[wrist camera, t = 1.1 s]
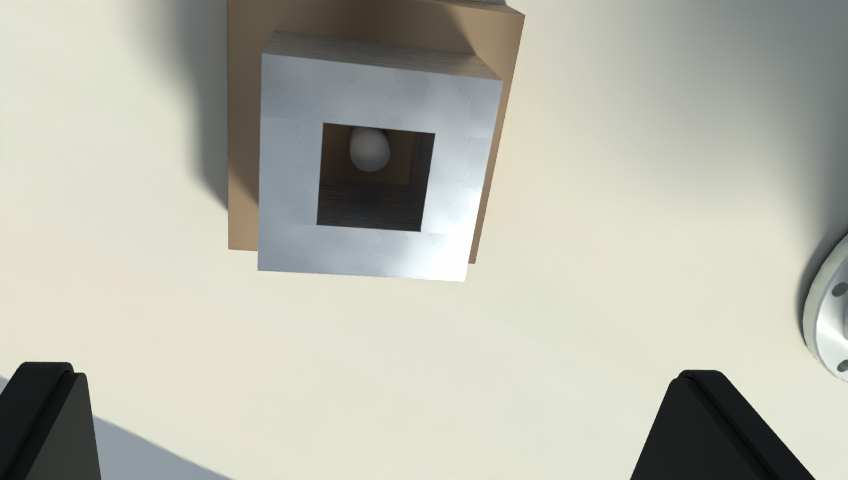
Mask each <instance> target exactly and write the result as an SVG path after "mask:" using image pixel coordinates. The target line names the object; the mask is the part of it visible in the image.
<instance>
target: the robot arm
mask: <svg viewBox="0 0 848 480" xmlns="http://www.w3.org/2000/svg"><path fill="white" fill-rule="evenodd" d="M803 331H804V338H805V341H806V343H807V346H808V348H809V351H810V352H811V354H812V355H813V356H814V357H815V359H816V360H817V361H818V362H819V363H820V364H821V365H822V366H823V367H824V368H825V369H826V370H827V371H829V372H830V373H831V374H832V375H833V376H835V377H837V378H839V379H841V380H843V381H845V382H847V383H848V234H847V235H846V236H845V237H844V238H843V239H842V240H841V241H840V242H839V243H838V244H837V246H836V247H835V248H834V250H833V251H832V252H831V254H830V255H829V256H828V258H827V259H826V260H825V262H824V263H823V264H822V266H821V268H820V270H819V272H818V274H817V275H816V277H815V279H814V281H813V283H812V285H811V288H810V291H809V294H808V297H807V300H806V302H805V308H804V315H803ZM0 480H101V474H100V467H99V460H98V453H97V446H96V440H95V432H94V425H93V418H92V411H91V403H90V396H89V389H88V382H87V377H86V375H85V373H74V370H73V367H72V365H71V363H68V362H24V363H22V364H21V365H20V366H19V367H18V369H17V370H16V372H15V373H14V375H13V376H12V378H11V379H10V381H9V382H8V384H7V385H6V387H5V388H4V390H3V392H2V393H1V395H0ZM630 480H815V478H814V477H813V476H812V475H811V474H810V473H809V472H808V470H807V469H806V468H805V467H804V466H803V465H802V464H801V462H800V461H799V460H798V459H797V458H796V457H795V456H794V454H793V453H792V452H791V451H790V450H789V449H788V447H787V446H786V445H785V444H784V443H783V442H782V441H781V439H780V438H779V437H778V436H777V435H776V434H775V433H774V431H773V430H772V429H771V428H770V427H769V426H768V424H767V423H766V422H765V421H764V420H763V419H762V418H761V416H760V415H759V414H758V413H757V412H756V411H755V410H754V408H753V407H752V406H751V405H750V404H749V403H748V401H747V400H746V399H745V398H744V397H743V396H742V395H741V393H740V392H739V391H738V390H737V389H736V388H735V387H734V385H733V384H732V383H731V382H730V381H729V380H728V379H727V377H726V376H725V375H724V374H722V373H721V372H719V371H717V370H684V371H682V372H681V373H680V374H679V376H678V377H677V378H675V379H673V380H672V381H671V383H670V384H669V387H668V389H667V391H666V394H665V396H664V399H663V401H662V403H661V406H660V408H659V411H658V413H657V416H656V418H655V420H654V423H653V425H652V428H651V430H650V433H649V435H648V437H647V440H646V442H645V445H644V447H643V450H642V452H641V454H640V457H639V459H638V462H637V464H636V467H635V469H634V471H633V474H632V476H631V479H630Z"/></svg>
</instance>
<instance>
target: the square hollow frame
mask: <svg viewBox="0 0 848 480" xmlns="http://www.w3.org/2000/svg"><path fill="white" fill-rule="evenodd" d="M502 86H503V80H502V79H501V78H500V77H499V76H498V75H497V74H496V73H495V72H494V71H493V70H492V69H491V68H490V67H489V66H488V65H487V64H486V63H485V62H484V61H483V60H482V59H481V58H480V57H479V56H478V55H477V54H472V53H463V52H455V51H447V50H439V49H430V48H422V47H414V46H406V45H397V44H389V43H381V42H373V41H364V40H356V39H348V38H340V37H331V36H323V35H315V34H307V33H298V32H290V31H282V30H273V32H272V34H271V36H270V38H269V40H268V42H267V44H266V46H265V48H264V50H263V52H262V69H261V120H260V171H259V222H258V270H259V271H278V272H297V273H317V274H336V275H355V276H374V277H393V278H412V279H431V280H450V281H464V279H465V274H466V269H467V264H468V259H469V254H470V249H471V244H472V239H473V234H474V229H475V223H476V218H477V213H478V208H479V203H480V198H481V193H482V188H483V183H484V178H485V173H486V168H487V162H488V157H489V152H490V147H491V142H492V137H493V132H494V127H495V122H496V117H497V112H498V107H499V102H500V96H501V91H502ZM323 123H334V124H344V125H355V126H365V127H375V128H386V129H396V130H407V131H415V135H414V142H413V149H412V157H411V164H410V171H409V178H408V185H399V184H386V183H374V182H361V181H349V180H336V179H324V178H319V177H320V163H321V148H322V133H323Z"/></svg>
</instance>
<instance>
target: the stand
mask: <svg viewBox="0 0 848 480" xmlns="http://www.w3.org/2000/svg"><path fill="white" fill-rule="evenodd" d="M524 19H525V15H524V14H522V13H520V12H518V11H516V10H514V9H513V8H511V7H509V6H505V5H498V4H491V3H483V2H476V1H469V0H227V61H228V249H231V250H248V251H258V222H259V171H260V120H261V69H262V52H263V50H264V48H265V46H266V44H267V42H268V40H269V38H270V36H271V34H272V32H273V30H282V31H290V32H298V33H307V34H315V35H323V36H331V37H340V38H348V39H356V40H364V41H373V42H381V43H389V44H397V45H406V46H414V47H422V48H430V49H439V50H447V51H455V52H463V53H472V54H477V55H478V56H479V57H480V58H481V59H482V60H483V61H484V62H485V63H486V64H487V65H488V66H489V67H490V68H491V69H492V70H493V71H494V72H495V73H496V74H497V75H498V76H499V77H500V78H501V79H502V80H503V86H502V91H501V96H500V102H499V107H498V112H497V117H496V122H495V127H494V132H493V137H492V142H491V147H490V152H489V157H488V162H487V168H486V173H485V178H484V183H483V188H482V193H481V198H480V203H479V208H478V213H477V218H476V223H475V229H474V234H473V239H472V244H471V249H470V254H469V259H468V263H472V264H475V261H476V256H477V251H478V246H479V241H480V236H481V231H482V226H483V221H484V216H485V211H486V207H487V202H488V197H489V192H490V187H491V182H492V177H493V172H494V167H495V162H496V157H497V152H498V147H499V142H500V138H501V133H502V128H503V123H504V118H505V113H506V108H507V103H508V98H509V93H510V88H511V83H512V78H513V74H514V69H515V64H516V59H517V54H518V49H519V44H520V39H521V34H522V29H523V24H524ZM414 135H415V131H407V130H396V129H386V128H375V127H365V126H355V125H344V124H334V123H323V133H322V148H321V163H320V177H319V178H324V179H336V180H349V181H361V182H374V183H386V184H399V185H408V178H409V171H410V164H411V157H412V149H413V142H414Z"/></svg>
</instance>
